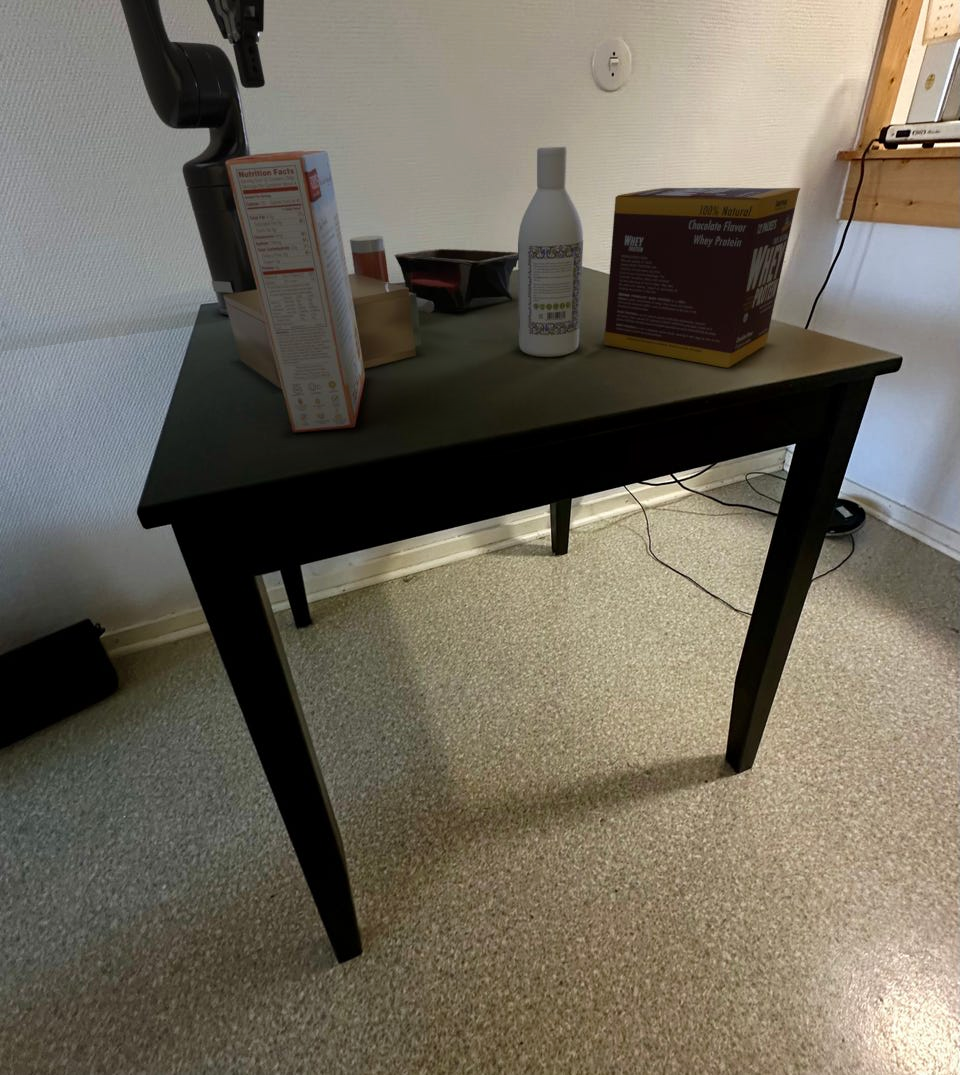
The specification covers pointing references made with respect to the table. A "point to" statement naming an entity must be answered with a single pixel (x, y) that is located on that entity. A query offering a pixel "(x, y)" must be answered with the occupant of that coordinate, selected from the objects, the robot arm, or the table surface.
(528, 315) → the bath foam
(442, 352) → the table surface
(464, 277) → the baking dish
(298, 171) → the cracker box
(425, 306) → the drawer
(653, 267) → the supplement box
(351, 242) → the salt shaker
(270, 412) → the table surface
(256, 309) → the cabinet
